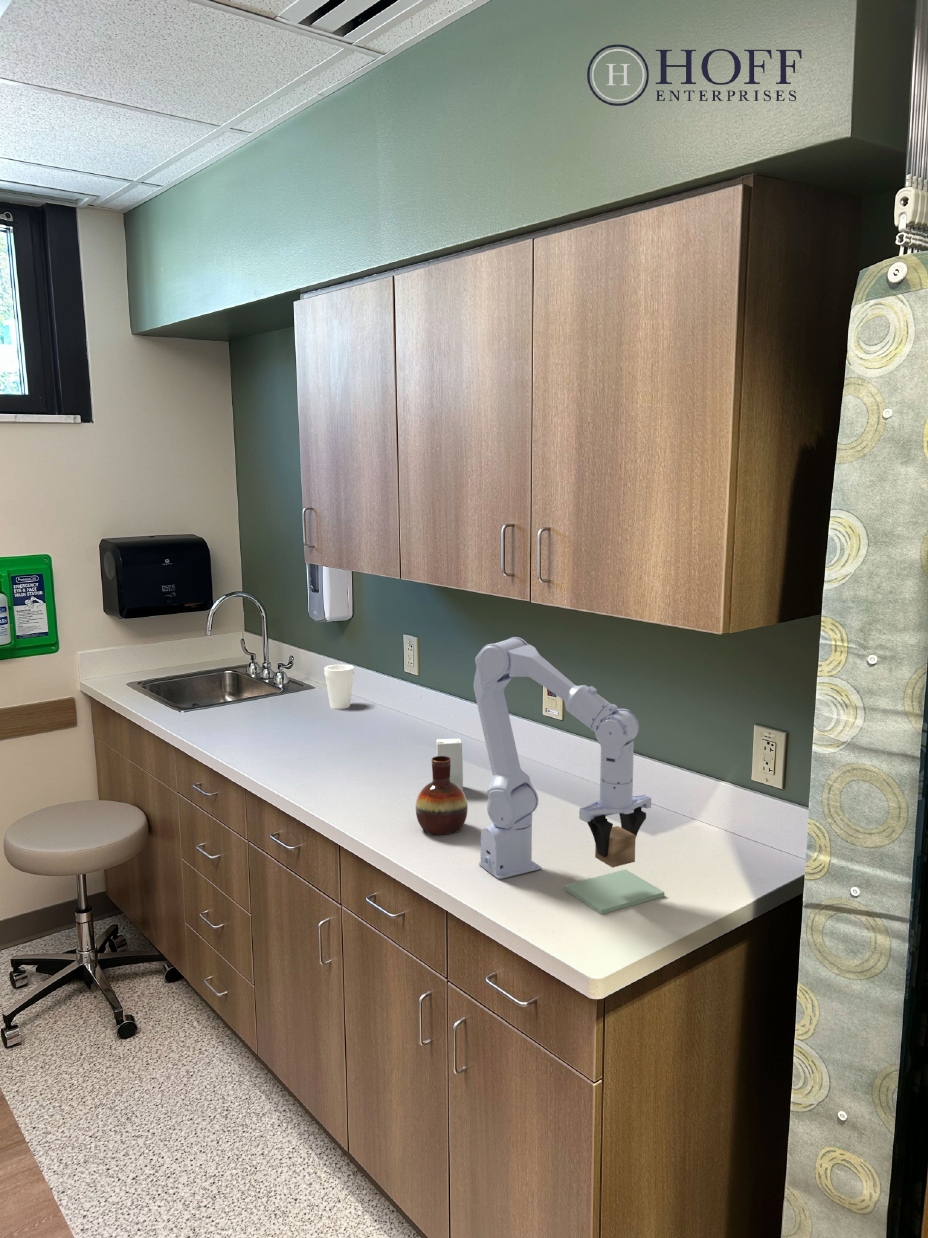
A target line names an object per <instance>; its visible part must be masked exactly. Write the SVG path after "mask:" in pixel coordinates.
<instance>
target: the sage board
mask: <svg viewBox="0 0 928 1238" xmlns="http://www.w3.org/2000/svg"><path fill="white" fill-rule="evenodd" d="M563 889H564V890H565V892H568V893H569V894H571V895H572V896H574V897H576V898H577V900H579V901H581V902H582V903H584V904H585V905H587V906H588V907H590V908H591V909H593V910H594V911H596V912H597V913H599V914H600V915H604V914H606V913H607V914H608V913H611V912H614V911H616V910H617V911H618V910H621V909H625V908H627V907H632V906H635V905H639V904H641V903H645V902H649V901H652V900H656V899H659V898H663V897H665V891H664V890H661V889H660V888H658V887H657V886H655V885H653V884H652V883H650V882H648V881H646V880H645V879H643V878H641V877H639V876H638V875H636V874H634V873H633V872H631V871H630V870H628V869H626V868H625V869H622V870H618V871H614V872H611V873H610V872H609V873H607V874H603V875H599V876H594V877H592V878H587V879H583V880H579V881H575V882H572V883H568V884H564V887H563Z"/></svg>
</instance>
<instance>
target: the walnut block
mask: <svg viewBox="0 0 928 1238" xmlns="http://www.w3.org/2000/svg"><path fill="white" fill-rule="evenodd" d="M635 836H636V835H634V834H632V833H630V832H629V831H627V830H625V829H623V828H621V826H619V825H616V826H612V829H611V832H610V837H609V850H608V855H607V857H602V856H601V855H599V854H598V853H597V848H596V844H594V845H595V849H594V852H595V853H594V855H595V856H594V858H596V859H597V860H599V861H601V862H602V863H604V864H605V865H607V866H609V867H610V868H612V869H613V868H616V867H620V866H625V865H628V864H632V863H635V862H636V839H635ZM636 837H637V836H636Z"/></svg>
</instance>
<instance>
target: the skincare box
mask: <svg viewBox="0 0 928 1238" xmlns="http://www.w3.org/2000/svg"><path fill="white" fill-rule="evenodd" d="M435 741H436V743H435V745H436V756H447V757H450V758H451V767H450V781H451V782H453V783H455V784H456V785H457V786H459V787H460V788H461V790H462V791H463V792H464V776H463V775H464V773H463V771H464V770H463V769H464V767H463V764H464V763H463V743H462V740H461V738H438V739H436V740H435Z"/></svg>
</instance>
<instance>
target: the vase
mask: <svg viewBox="0 0 928 1238" xmlns="http://www.w3.org/2000/svg"><path fill="white" fill-rule="evenodd" d="M450 767H451V758H450V757H447V756H437V755H436V756H434V757H431V771H432V781H431V782H429V783H427V784H426V785H425V786H424V787H423V788H422V789H421V790H420V791H419V793H418V795H417V798H416V801H415V814H416V819H417V821H418V824H419V826H420V827H421V829H422V830H424V831H425V832H426V833H428V834H431V835H436V836H437V835H438V836H447V835H451V834H455V833H457V832H459V830H461V829H462V828H463V826H464V824H465V823H466V819H467V816H468V809H469V808H468V807H469V805H468V799H467V796H466V795H465V792H464V790H463V791H462V790H461V788H460V787H459V786H457V785H456V784H455V783H453V782H451V781H450Z"/></svg>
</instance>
